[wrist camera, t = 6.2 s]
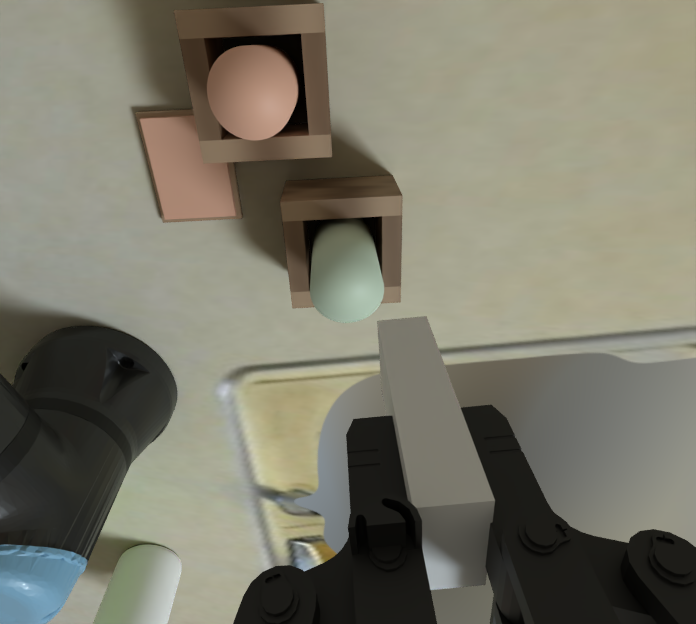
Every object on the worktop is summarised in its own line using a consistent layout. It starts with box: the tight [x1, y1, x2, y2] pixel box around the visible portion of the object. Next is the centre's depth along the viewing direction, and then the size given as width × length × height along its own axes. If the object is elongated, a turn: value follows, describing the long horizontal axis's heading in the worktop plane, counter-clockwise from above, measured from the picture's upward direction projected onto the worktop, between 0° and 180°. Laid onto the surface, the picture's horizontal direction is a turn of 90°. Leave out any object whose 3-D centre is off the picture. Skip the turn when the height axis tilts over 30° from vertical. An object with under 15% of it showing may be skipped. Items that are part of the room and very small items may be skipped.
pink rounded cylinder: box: [207, 44, 301, 140], centre depth 31 cm, size 5×5×9 cm
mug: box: [93, 544, 182, 624], centre depth 61 cm, size 9×12×11 cm
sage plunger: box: [310, 218, 384, 323], centre depth 35 cm, size 5×5×9 cm
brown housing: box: [174, 3, 332, 164], centre depth 33 cm, size 9×9×6 cm
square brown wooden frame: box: [280, 175, 402, 308], centre depth 39 cm, size 9×9×6 cm
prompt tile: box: [135, 109, 243, 223], centre depth 38 cm, size 7×9×1 cm
